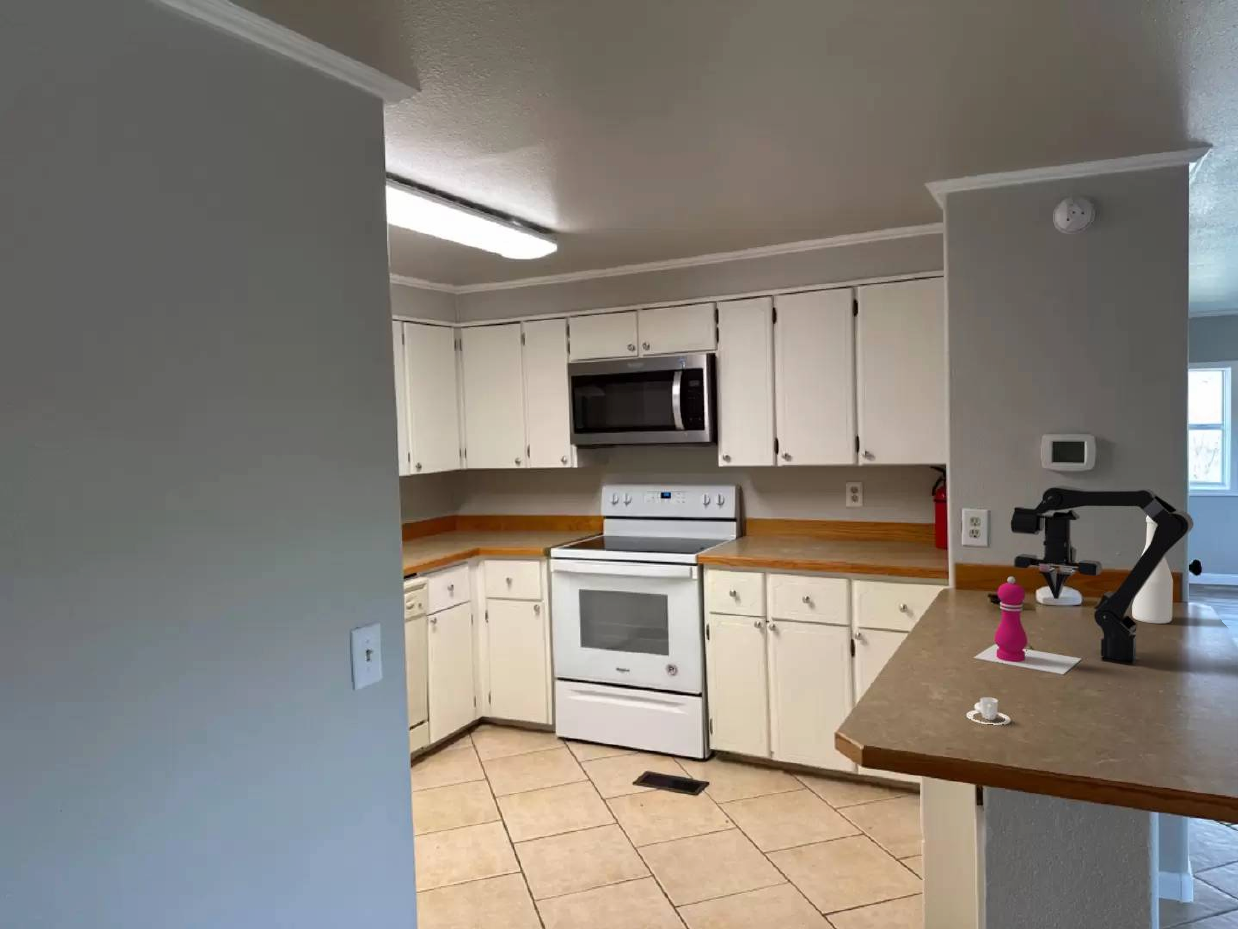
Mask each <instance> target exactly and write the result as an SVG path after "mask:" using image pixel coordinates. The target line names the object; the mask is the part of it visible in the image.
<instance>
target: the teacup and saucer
mask: <svg viewBox="0 0 1238 929" xmlns="http://www.w3.org/2000/svg"><path fill="white" fill-rule="evenodd" d="M998 703H999V700H998V699H997V698H994V697H990V696H988V697H987V696H986V697H985V696H983V697H980V701H978V702H976V703H975V704H974V710H970V711H968V712H967V713H966V717H967V718H968V719H969V720H970V719H971V720H970V721H972V722H975V723H978V724H981V725H987V724H993V725H992V726H1003V725H1002V724H1004V725H1008V724H1009V723H1010V722H1011V718H1010V717H1009V716H1008V715H1006V714H1004V713H1002V712H998V706H999V705H998ZM975 714H981V716H982V718H983V719H984V718H985V720H987V719H988V720H989V721H994V720H995V719H996V717H997V716H999V717H1001V718H1003V719H1004V718H1005V721H1004V720H1003V721H1004V722H1003V721H1001V722H995V723H994V722H993V723H992V722H986V723H985V721H981V720H978V719H976V718H975V719H976V720H975V719H973V718H974V715H975ZM988 720H987V721H988ZM980 721H981V722H980Z"/></svg>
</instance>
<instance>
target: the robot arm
mask: <svg viewBox="0 0 1238 929" xmlns="http://www.w3.org/2000/svg"><path fill="white" fill-rule="evenodd" d="M1081 507H1139V508H1140V510H1142V511H1143V512H1144V513H1145V514H1146V516H1147V515H1148V516H1149V517H1150V518H1151V519H1152V520H1153V521H1154V522H1155V523H1156V524H1158V525H1157V527H1156V530H1155V532H1154V535H1153V538H1152V541H1151V543H1150V545H1149V547H1148V548H1147V549H1146V551H1145V552H1144V554H1143V555H1142V554H1141V556H1140V557H1139V559H1138V561H1137V562H1136V564H1135V565H1134V566H1133V568H1132V569H1131V570H1130V572H1129V573H1128V575H1127V576H1126V578H1125V579H1124V580H1123V582H1122V583H1121V584H1120V586H1119V588H1118V589H1117V590H1116V591H1115V592H1114V593H1113V592H1112V591H1111V590H1109V591H1107V592H1105V593H1104V594H1103V595H1102V597H1101V599H1100V601H1099V603H1098V604H1097V605H1096V606H1094V607H1093V609H1094V610H1095V611H1094V614H1093V618H1094V620H1095V622H1096V624H1097V625H1098V626H1099V627H1100V628H1101V631H1102V632H1103V637H1102V638H1101V639H1100V656H1101V659H1100V660H1101V661H1106V662H1112V663H1118V664H1123V665H1130V666H1132V665H1134V664H1135V663H1136V662H1137V661H1138V659H1139V657H1138V656H1137V635H1136V634H1135V633H1136V631H1137V629H1138V627H1139V625H1138V623H1137V622H1136V620H1134V619H1133V618H1132V617H1131V616H1130V615H1129V614H1130V612H1131V611H1132V605H1133V602H1134V599H1135V597H1136V595H1137V594H1138V593H1139V591H1140V590H1141V588H1142V587H1143V586H1144V584H1145V583H1146V581H1147V580H1148V579H1149V577H1150V576H1151V575H1152V573H1153V572H1154V570H1155V569H1156V568H1157V566H1158V565H1159V563H1160V562H1161V561H1162V559H1163V558H1164V557H1165V558H1166V555H1167V554H1168V552H1169V551H1170V550H1171V549H1172V548H1173V547H1175V545H1177V544H1178V543H1179V542H1180V541H1181V540H1182V539H1183V538H1184V537H1185V536H1187V535H1188V534H1189V533H1190V532H1191V531H1192V529H1193V528H1194V520H1193V518H1192V517H1191V515H1190V514H1188V513H1187V512H1185V511H1183V510H1178V509H1176V508H1175V507H1174V506H1173V505H1172V504H1170V503H1169V502H1167V501H1165V500H1164V499H1163V498H1161V497H1160V496H1158V495H1157V494H1156V493H1155V492H1154V491H1153V490H1151V489H1148V488H1144V489H1143V488H1142V489H1101V490H1100V489H1095V490H1094V489H1090V490H1089V489H1083V488H1078V487H1074V486H1067V485H1056V486H1054V487H1050V488H1047V489H1046V490H1045V491H1044V492H1043V493H1042V500H1041V501H1040V502H1039V504H1038V505H1037V506H1036V507H1035V508H1031V507H1029V508H1028V507H1023V506H1015V507H1014V509H1013V510H1014V512H1012V513H1013V514H1012V517H1011V520H1010V530H1011V532H1012V533H1013V534H1023V535H1033V536H1038V535H1039V534H1040V532H1043V531H1044V540H1043V541H1042V542H1043V543H1042V544H1043V546H1044V548H1043V549H1044V550H1043V552H1044V553H1043V556H1044V557H1043V558H1038V556H1037V554H1029V553H1028V554H1026V553H1021V554H1020V555H1017V556H1015V557H1014V560H1013V567H1014V568H1018V569H1028V568H1029V567H1030V566H1035V567H1038V568H1039V570H1038V571H1037V573H1038V574H1041V575H1042V576H1043V577H1044V580H1045V581H1046V583H1047V584H1048V587H1049V590H1050V591H1051V594H1052V597H1053V599H1056V600H1058V599H1059V598H1060V596H1061V594H1062V591H1063V589H1064V586H1065V583H1067V580H1068V579H1069V577H1071V576H1073V575H1075V574H1076V573H1077V572H1078V573H1080V575H1082V576H1083V575H1084V576H1092V577H1093V576H1095V577H1096V576H1097V575H1100V574H1101V573H1102V569H1103V568H1102V567H1103V566H1102V565H1103V564H1102V563H1101V562H1100V560H1091V559H1082V560H1080V561H1079V562H1076V557H1077V549H1076V548H1075V547H1074V546H1073V544H1072V539H1071V525H1072V524H1071V523H1072V522H1071V521H1077V520H1080V519H1081V516H1080V515H1079V514H1078V513H1076V512H1075V510H1074V509H1075V508H1081ZM1062 510H1068V511H1062ZM1052 511H1054V512H1053V513H1052V514H1046V513H1049V512H1052ZM1058 569H1059V570H1060V571H1058Z"/></svg>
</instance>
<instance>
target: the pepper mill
mask: <svg viewBox="0 0 1238 929" xmlns="http://www.w3.org/2000/svg"><path fill="white" fill-rule="evenodd" d="M997 597H998V599H1000V602H999V608H1000V610H1001V621H1000V623H999V626H998V627H997V629H996V631H995V634H994V643H995V644H997V646H998V647H999V648H998V649H997V658H999V659H1001V660H1005V661H1011V662H1019V661H1024V660H1025V652H1024V651H1023V649H1026V647H1027V646H1028V637H1027V636H1028V635H1027V634H1026V631H1025V629H1024V627H1023V624H1022V621H1021V611H1023V610H1024V609H1023V605H1024V604H1023V603H1022V602H1023V601H1024V599H1025V598H1026V592H1025V589H1024V588H1023V586H1022V585H1020V584H1019V583H1016V578H1015V576H1009V577H1008V578H1007V582H1005V583H1002V584H1001V585H1000V586H999V587H998V588H997Z"/></svg>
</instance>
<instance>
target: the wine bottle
mask: <svg viewBox="0 0 1238 929" xmlns="http://www.w3.org/2000/svg"><path fill="white" fill-rule="evenodd" d="M1145 522H1146V538H1145V539H1146V540H1145V541H1146V542H1145V546H1144V549H1143V551H1142V554H1141V556H1142V555H1143V554H1144V552H1145V551H1146V549H1147V548H1148V547H1149V545H1150V543H1151V541H1152V538H1153V535H1154V532H1155V530H1156V527H1157V525H1158V524H1156V523H1155V522H1154V521H1153V520H1152V519H1151V518H1150V517H1149V516H1148V515H1147V514H1146V518H1145ZM1171 572H1172V571H1171V570H1170V567H1169V564H1168V561H1167V559H1166V556H1165V557H1164V558H1163V559H1162V561H1161V562H1160V563H1159V565H1158V566H1157V568H1156V569H1155V570H1154V572H1153V573H1152V575H1151V576H1150V577H1149V579H1148V580H1147V581H1146V583H1145V584H1144V586H1143V587H1142V588H1141V590H1140V591H1139V593H1138V594H1137V595H1136V597H1135V599H1134V602H1133V605H1132V608H1131V611H1132V612H1131V616H1132V617H1133V618H1134V619H1135V621H1138V622H1142V623H1147V624H1148V623H1149V624H1168V623H1171V622H1172V620H1173V599H1174V597H1173V592H1174V589H1173V588H1174V580H1173V576H1172V573H1171ZM1133 618H1132V619H1133ZM1134 619H1133V620H1134Z"/></svg>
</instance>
